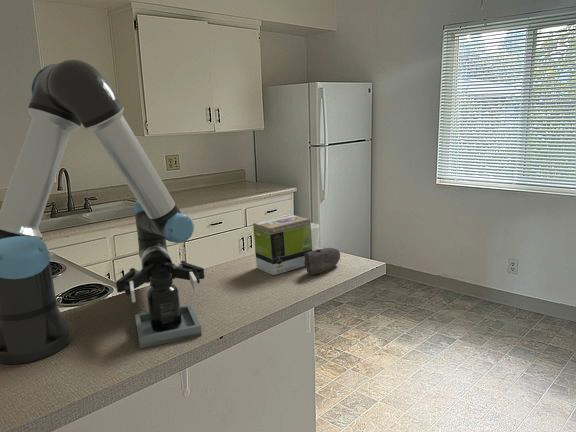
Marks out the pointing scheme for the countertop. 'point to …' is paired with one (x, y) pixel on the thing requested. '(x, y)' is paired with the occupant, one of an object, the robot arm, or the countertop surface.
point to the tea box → (282, 243)
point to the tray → (184, 331)
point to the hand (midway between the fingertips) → (165, 291)
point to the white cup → (315, 236)
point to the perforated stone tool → (321, 260)
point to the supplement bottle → (163, 303)
